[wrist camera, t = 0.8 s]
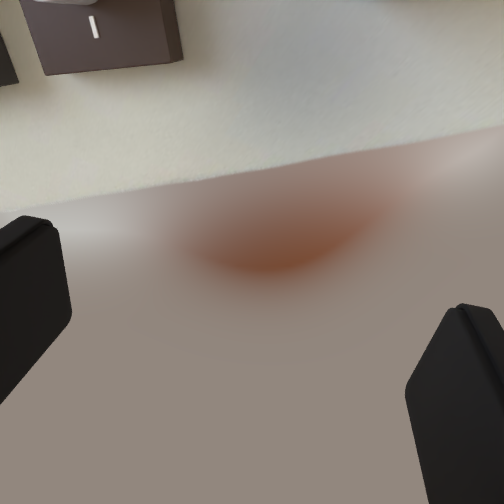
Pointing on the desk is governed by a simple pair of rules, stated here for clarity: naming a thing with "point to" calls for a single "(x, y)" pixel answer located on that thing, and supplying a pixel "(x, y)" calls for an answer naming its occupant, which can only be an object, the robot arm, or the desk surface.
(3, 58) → the control block
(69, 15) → the dial panel
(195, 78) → the desk surface
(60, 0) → the dial
